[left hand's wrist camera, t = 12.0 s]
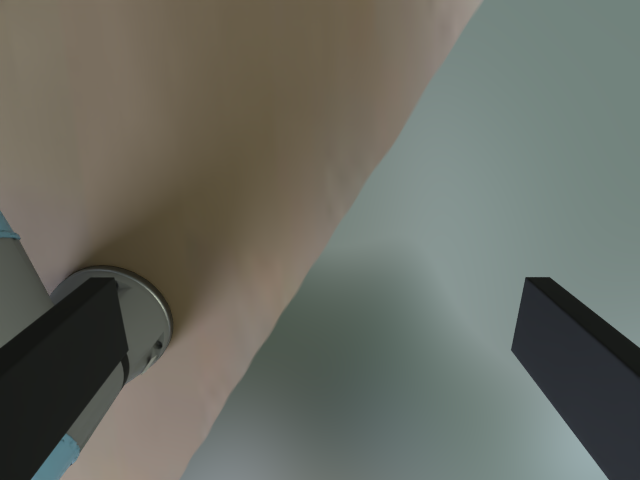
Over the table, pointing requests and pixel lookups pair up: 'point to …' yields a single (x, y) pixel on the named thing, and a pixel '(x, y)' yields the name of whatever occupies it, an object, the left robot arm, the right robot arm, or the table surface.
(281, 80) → the table surface
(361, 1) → the table surface
